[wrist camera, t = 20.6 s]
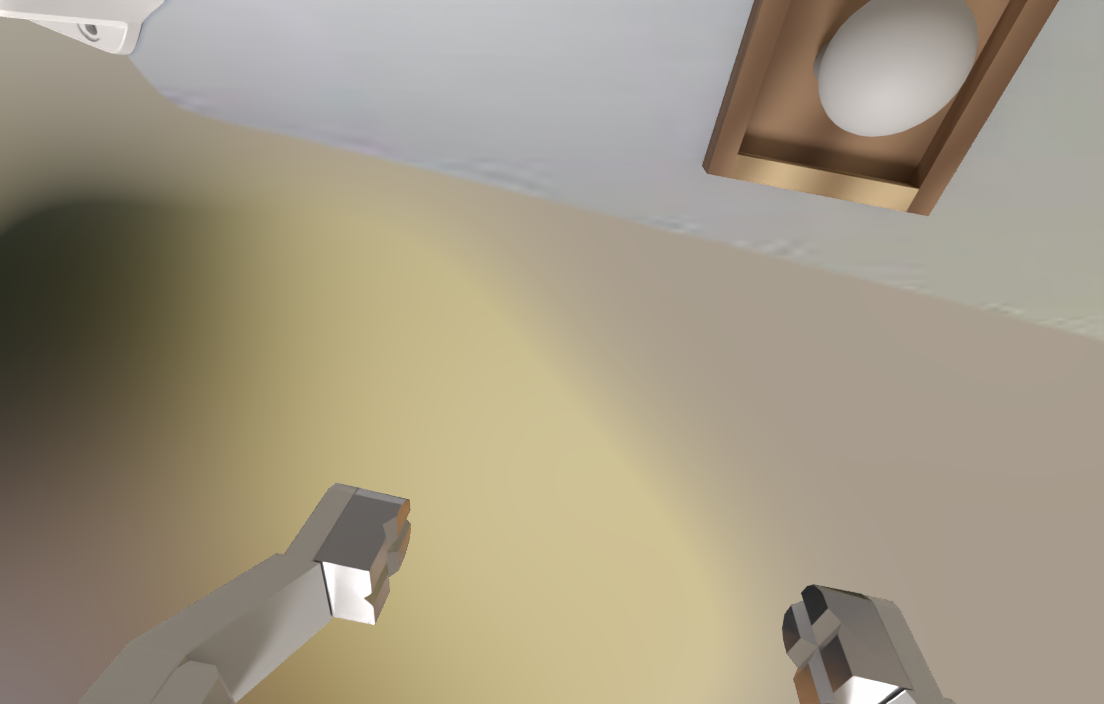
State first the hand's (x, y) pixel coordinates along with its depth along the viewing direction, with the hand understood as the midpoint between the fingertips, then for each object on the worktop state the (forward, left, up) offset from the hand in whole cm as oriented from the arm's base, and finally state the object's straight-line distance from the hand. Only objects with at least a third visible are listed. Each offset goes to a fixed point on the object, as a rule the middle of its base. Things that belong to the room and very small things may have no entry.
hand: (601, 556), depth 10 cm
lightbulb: (+11, +10, -30) cm, 34 cm away
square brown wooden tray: (+13, +10, -31) cm, 35 cm away
